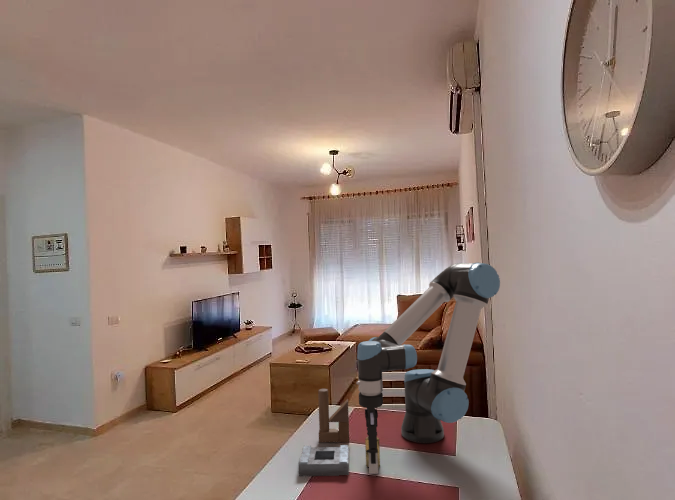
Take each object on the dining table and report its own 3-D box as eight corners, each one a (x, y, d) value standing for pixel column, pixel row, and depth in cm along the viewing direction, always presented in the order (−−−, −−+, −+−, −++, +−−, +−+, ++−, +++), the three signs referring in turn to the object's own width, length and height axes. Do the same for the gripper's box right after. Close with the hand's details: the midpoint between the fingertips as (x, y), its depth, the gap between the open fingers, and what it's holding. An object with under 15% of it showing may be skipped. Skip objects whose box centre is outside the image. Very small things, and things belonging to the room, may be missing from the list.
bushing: (379, 461, 129) (378, 435, 129) (380, 468, 124) (379, 441, 125) (365, 462, 129) (364, 436, 129) (366, 469, 125) (365, 442, 125)
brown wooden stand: (349, 442, 143) (347, 391, 144) (318, 443, 144) (317, 391, 144) (349, 438, 147) (347, 387, 147) (319, 438, 147) (318, 388, 148)
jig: (349, 457, 132) (348, 445, 132) (348, 475, 121) (348, 461, 121) (303, 458, 133) (302, 445, 133) (298, 476, 122) (298, 462, 122)
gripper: (358, 381, 138) (360, 448, 138) (359, 404, 117) (361, 484, 116) (380, 381, 138) (382, 448, 137) (385, 404, 116) (387, 483, 116)
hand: (372, 464), depth 127 cm, fingers open, 9 cm apart
